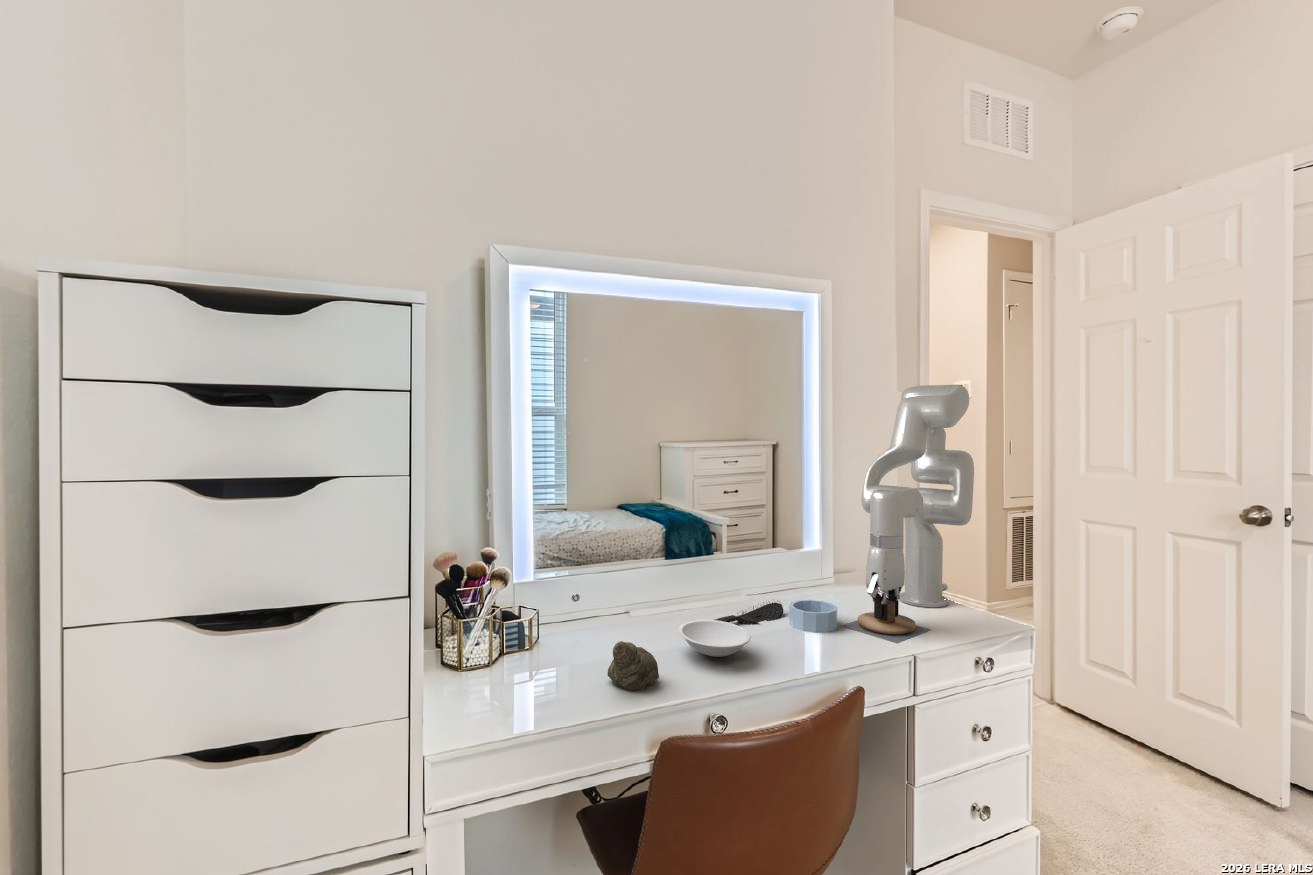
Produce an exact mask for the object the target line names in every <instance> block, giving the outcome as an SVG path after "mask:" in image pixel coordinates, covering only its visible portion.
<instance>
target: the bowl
mask: <svg viewBox="0 0 1313 875" xmlns="http://www.w3.org/2000/svg"><path fill="white" fill-rule="evenodd" d="M788 608H789V612H788V613H789V614H788V615H789V616H788V621H789V622H788V624H789V625H790V627H792V629H795V630H799V631H802V632H807V633H814V634H815V633H816V634H820V633H821V634H822V633H830V632H833V631H836V630H837V628H838V606H836V605H835V604H834V603H831V602H827V601H823V600H815V599H814V600H813V599H799V600H794V601H791V603H790V604H789V607H788Z"/></svg>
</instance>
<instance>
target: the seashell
mask: <svg viewBox="0 0 1313 875" xmlns="http://www.w3.org/2000/svg"><path fill="white" fill-rule="evenodd" d="M612 657H613V660H612V661H611V663H610V665H609V667H608V668H607V675H606V676H607V677H609V679H610V680H611V681H612V682H613V683H615V684H616V685H617V686H619V687H623V688H625V690H628V691H630V690H632V691H642V690H643V689H645V687H646V686H652V685H653V684H655V682H656V681H657V680H658V679H659V678H660V674H659V666H658V662H657V659H656V658H655V657H654V655H653V654H652V653H651V652H650V651H647V649H645V648H644V647H642V646H636V645H635V644H634V643H632V642H629V641H622V640H621V641H618V642H616V643H615V645H614V646H613V648H612ZM641 689H642V690H641Z"/></svg>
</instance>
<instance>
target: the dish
mask: <svg viewBox="0 0 1313 875" xmlns="http://www.w3.org/2000/svg"><path fill="white" fill-rule="evenodd" d="M678 633H679V635H680V636H681V637H682V638H683V639H684V640H685V641H686V643H687V644H688V645H689V646H690V647H691V648H692V649H693V650H695V651H696V652H698V653H700V654H702V655H706V656H710V657H712V658H716V657H718V658H719V657H720V658H721V657H727V656H731V655H733V654H736V653H737V652H738V651H741V649H742V648H743V647H744V646H745V645H747V644H748V643H749V642H750V640H751V639H752V638H751V637H752V636H751V633H750V632H749V631H748V630H746V629H745V628H743V627H741V626H739V625H737V624H735V623H733V622H729V623H728V622H723V621H717V620H715V619H697V620H692V621H691V620H690V621H687V622H685V623H682V624H681V625H680V626H679V628H678Z"/></svg>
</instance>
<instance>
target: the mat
mask: <svg viewBox="0 0 1313 875" xmlns="http://www.w3.org/2000/svg"><path fill="white" fill-rule="evenodd" d="M840 627H841V628H845V629H848V630H852V631H855V632H858V633H861V634H865V635H868V636H871V637H874V638H879V639H881V640H885V641H888V642H891V643H893V644H900V643H902V642H904V641H907V640H909V639H912V638H915V637H917V636H920V635H923V634H925V633H927V632H930V631H932V628H928V627H923V626H920V625H916V624H915V630H914V631H912V632H910V633H905V634H885V633H879V632H874V631H870V630H867V629H865V628H863V627H861V626H860V625H859V624H858V619H857V620H853V621H851V622H848V623H844V624H842V625H840Z"/></svg>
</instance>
